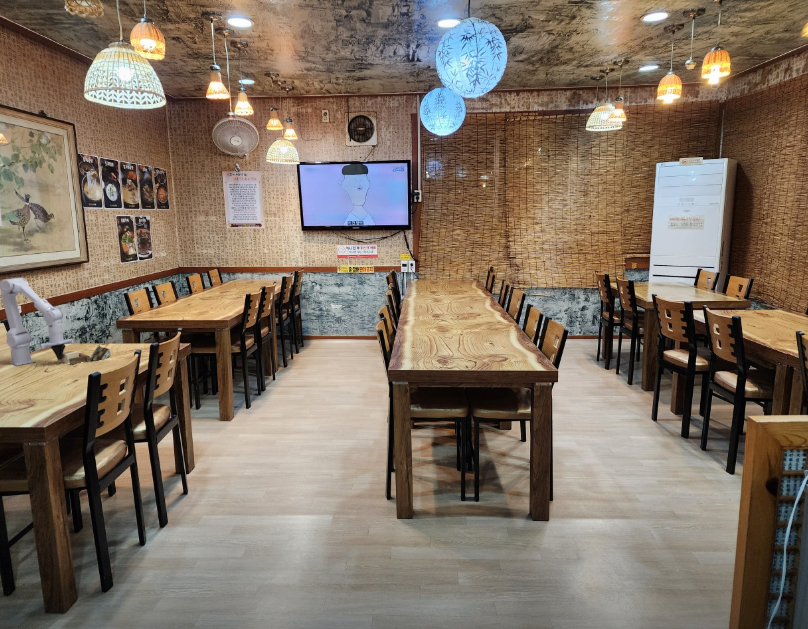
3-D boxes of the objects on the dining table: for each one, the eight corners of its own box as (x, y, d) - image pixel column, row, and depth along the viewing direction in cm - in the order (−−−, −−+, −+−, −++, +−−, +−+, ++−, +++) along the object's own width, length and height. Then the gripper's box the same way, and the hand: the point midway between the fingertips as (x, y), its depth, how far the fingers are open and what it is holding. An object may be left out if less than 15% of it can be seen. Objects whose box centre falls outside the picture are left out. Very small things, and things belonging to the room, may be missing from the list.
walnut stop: (57, 360, 272) (56, 354, 271) (74, 356, 278) (74, 351, 278) (72, 365, 261) (71, 359, 261) (90, 361, 268) (89, 355, 268)
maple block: (58, 362, 268) (57, 353, 267) (70, 359, 273) (68, 350, 273) (68, 364, 265) (66, 354, 264) (79, 361, 270) (78, 351, 269)
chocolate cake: (103, 362, 268) (112, 343, 275) (88, 359, 266) (98, 340, 273) (105, 370, 275) (114, 351, 282) (91, 368, 274) (101, 348, 281)
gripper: (42, 336, 254) (46, 363, 256) (75, 331, 265) (78, 357, 268) (37, 335, 258) (41, 361, 260) (69, 330, 270) (72, 355, 272)
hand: (59, 359), depth 264 cm, fingers closed
